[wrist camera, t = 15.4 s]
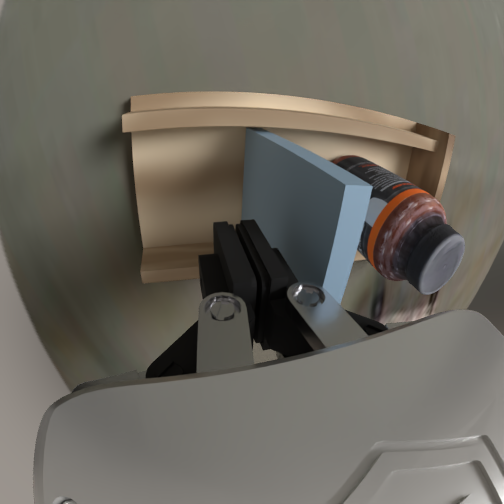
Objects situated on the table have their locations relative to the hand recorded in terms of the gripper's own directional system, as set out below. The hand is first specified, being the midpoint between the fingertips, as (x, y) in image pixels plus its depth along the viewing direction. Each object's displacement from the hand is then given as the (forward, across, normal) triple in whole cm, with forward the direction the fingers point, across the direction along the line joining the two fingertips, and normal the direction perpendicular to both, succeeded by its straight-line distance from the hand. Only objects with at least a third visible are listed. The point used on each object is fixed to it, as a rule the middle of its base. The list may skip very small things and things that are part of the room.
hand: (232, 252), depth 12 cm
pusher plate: (+8, -3, 0) cm, 9 cm away
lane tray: (+10, -7, 0) cm, 12 cm away
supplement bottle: (+9, -11, 0) cm, 14 cm away
